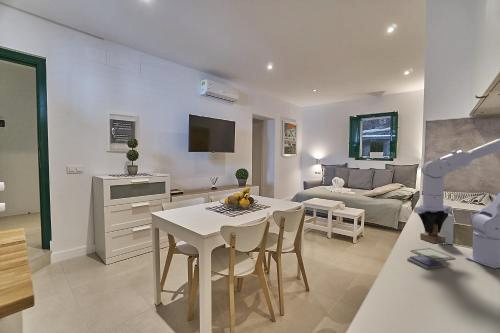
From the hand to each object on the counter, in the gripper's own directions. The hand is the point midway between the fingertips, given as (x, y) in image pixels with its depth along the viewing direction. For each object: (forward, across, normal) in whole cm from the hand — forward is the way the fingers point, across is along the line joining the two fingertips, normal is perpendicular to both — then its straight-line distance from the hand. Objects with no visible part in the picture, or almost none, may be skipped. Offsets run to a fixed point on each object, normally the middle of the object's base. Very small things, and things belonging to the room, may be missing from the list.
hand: (432, 232), depth 82 cm
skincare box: (+8, -17, -9) cm, 21 cm away
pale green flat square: (+8, 0, 0) cm, 8 cm away
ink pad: (+8, +9, +5) cm, 13 cm away
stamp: (+3, 0, 0) cm, 3 cm away
